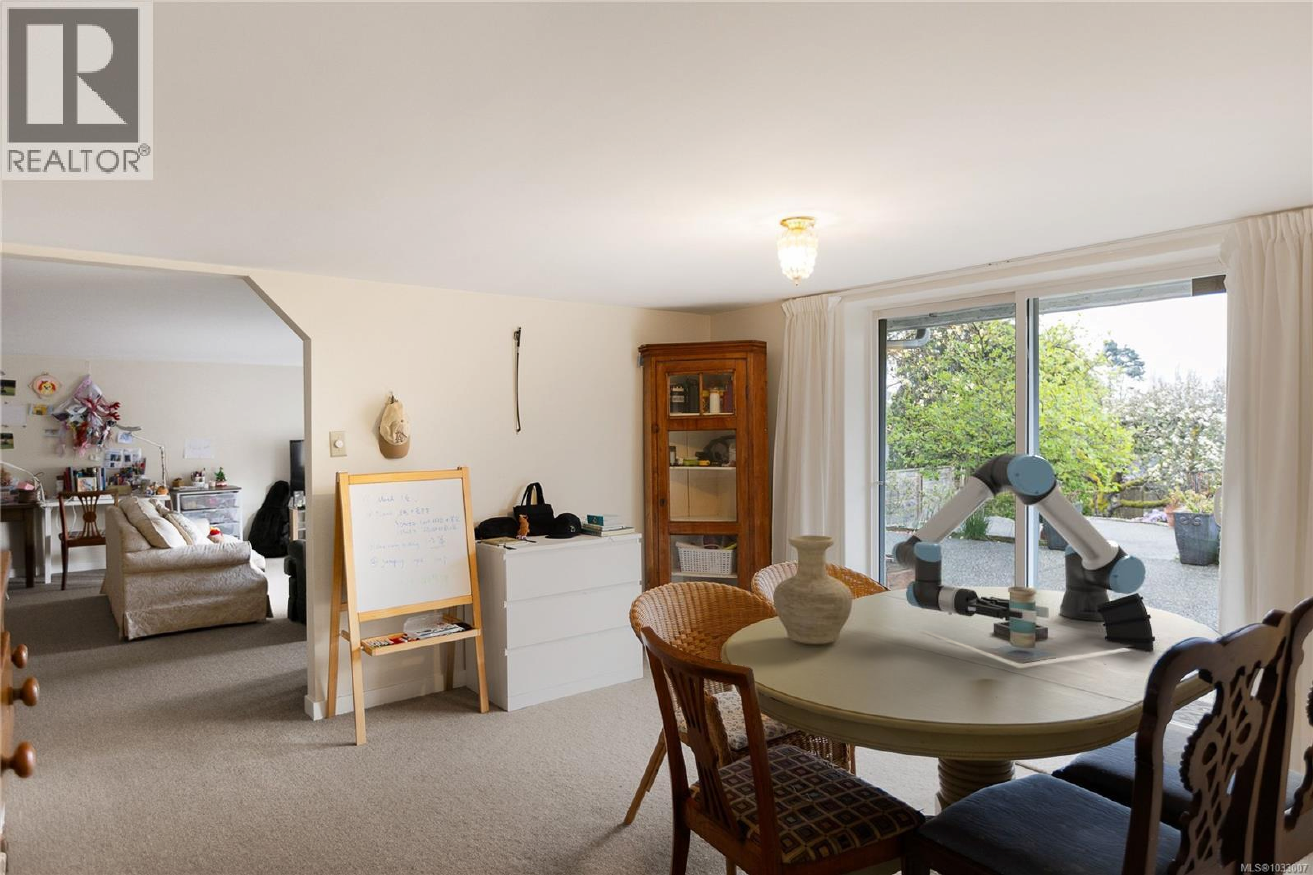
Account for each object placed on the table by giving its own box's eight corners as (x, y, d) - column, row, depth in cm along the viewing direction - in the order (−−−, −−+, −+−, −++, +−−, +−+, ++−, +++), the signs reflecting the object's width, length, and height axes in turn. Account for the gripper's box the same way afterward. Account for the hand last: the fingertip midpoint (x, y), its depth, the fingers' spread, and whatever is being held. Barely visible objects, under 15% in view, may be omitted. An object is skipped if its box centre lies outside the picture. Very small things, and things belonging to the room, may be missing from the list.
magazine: (1162, 648, 206) (1134, 594, 211) (1114, 660, 216) (1088, 608, 221) (1167, 646, 209) (1140, 592, 214) (1119, 657, 218) (1094, 605, 223)
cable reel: (1022, 640, 213) (1022, 585, 213) (1042, 647, 207) (1042, 590, 207) (1003, 643, 211) (1002, 587, 211) (1022, 649, 204) (1022, 592, 204)
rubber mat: (1023, 647, 216) (1023, 644, 216) (1056, 658, 205) (1055, 654, 205) (991, 652, 212) (991, 648, 212) (1023, 663, 202) (1023, 659, 202)
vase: (781, 629, 241) (779, 532, 240) (856, 634, 233) (854, 534, 233) (767, 649, 220) (765, 542, 219) (848, 655, 212) (846, 544, 212)
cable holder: (1020, 632, 232) (1020, 618, 232) (1053, 642, 221) (1053, 627, 221) (988, 636, 228) (988, 622, 228) (1020, 646, 217) (1020, 632, 217)
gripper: (976, 609, 229) (1058, 622, 211) (941, 620, 216) (1025, 635, 199) (976, 583, 229) (1057, 595, 211) (941, 593, 216) (1024, 606, 198)
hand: (1041, 614), depth 205 cm, fingers closed on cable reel, 6 cm apart
